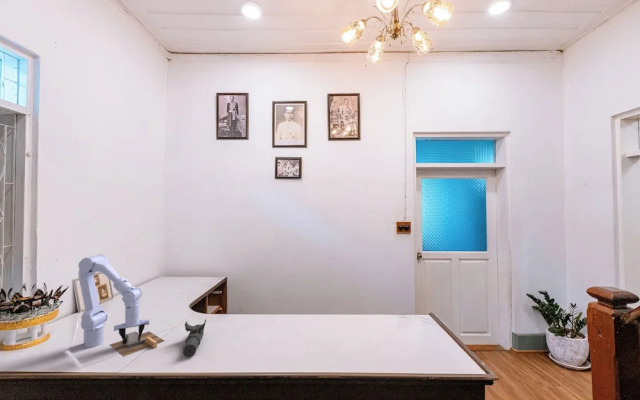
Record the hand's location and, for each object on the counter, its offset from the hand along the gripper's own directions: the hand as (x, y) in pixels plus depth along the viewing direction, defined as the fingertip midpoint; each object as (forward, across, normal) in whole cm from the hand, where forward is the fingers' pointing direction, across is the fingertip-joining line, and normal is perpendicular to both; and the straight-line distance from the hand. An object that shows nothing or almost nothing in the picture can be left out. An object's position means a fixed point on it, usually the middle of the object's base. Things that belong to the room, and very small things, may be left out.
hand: (132, 342), depth 139 cm
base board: (+2, -2, 0) cm, 3 cm away
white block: (+1, 0, 0) cm, 1 cm away
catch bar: (+1, -8, +6) cm, 10 cm away
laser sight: (+2, -27, +14) cm, 30 cm away
